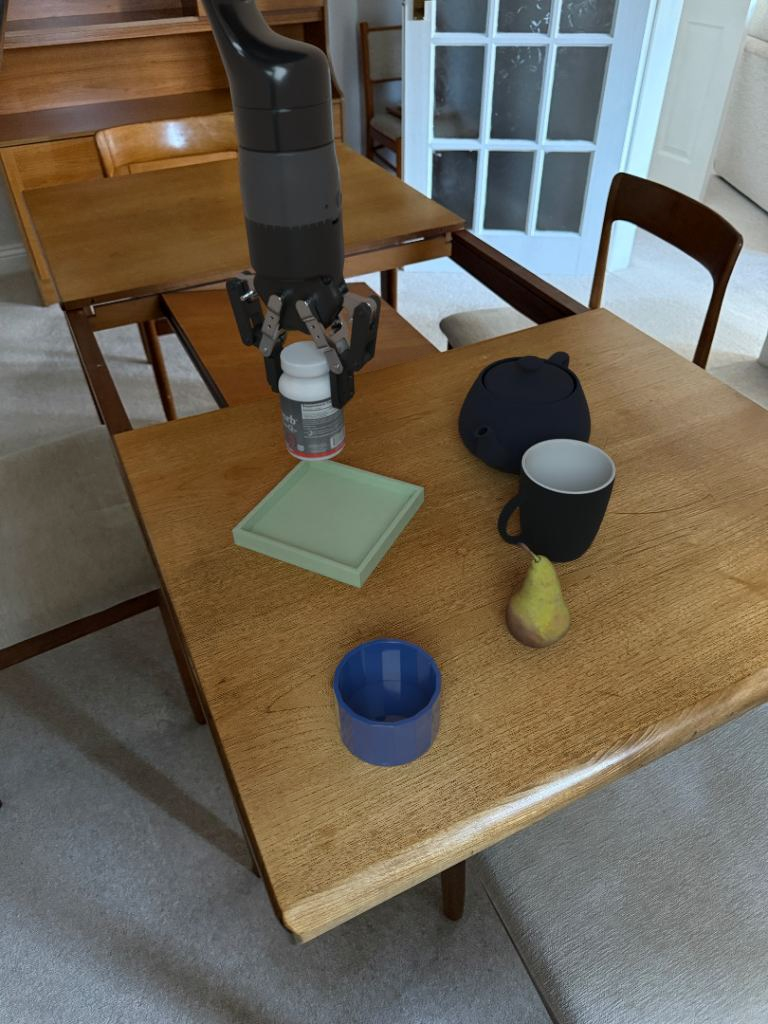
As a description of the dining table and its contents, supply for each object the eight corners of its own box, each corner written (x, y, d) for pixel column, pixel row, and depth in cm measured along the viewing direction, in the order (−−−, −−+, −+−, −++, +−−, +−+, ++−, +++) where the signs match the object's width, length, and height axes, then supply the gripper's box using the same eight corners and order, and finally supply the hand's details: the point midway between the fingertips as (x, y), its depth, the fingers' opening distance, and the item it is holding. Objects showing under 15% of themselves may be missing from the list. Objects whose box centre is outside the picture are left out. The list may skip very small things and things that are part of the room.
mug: (563, 505, 82) (576, 429, 76) (617, 554, 76) (636, 475, 70) (471, 540, 78) (476, 462, 72) (520, 594, 72) (531, 514, 66)
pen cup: (412, 783, 57) (412, 743, 54) (319, 741, 60) (313, 700, 57) (455, 701, 63) (457, 660, 59) (367, 666, 66) (365, 625, 62)
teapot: (503, 390, 102) (511, 306, 94) (614, 422, 95) (632, 334, 87) (410, 487, 86) (410, 395, 78) (536, 532, 79) (549, 437, 71)
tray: (360, 588, 73) (359, 574, 72) (234, 544, 79) (231, 530, 77) (424, 501, 84) (424, 487, 82) (309, 467, 89) (307, 453, 88)
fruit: (553, 670, 65) (572, 572, 57) (493, 644, 67) (503, 547, 60) (575, 628, 69) (596, 531, 61) (518, 605, 71) (530, 509, 63)
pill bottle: (280, 436, 72) (267, 343, 66) (336, 425, 74) (329, 332, 67) (294, 469, 68) (282, 373, 62) (353, 456, 69) (347, 361, 63)
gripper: (186, 207, 57) (222, 399, 67) (351, 233, 51) (361, 436, 62) (243, 181, 62) (268, 363, 72) (398, 202, 56) (400, 394, 67)
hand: (311, 396), depth 67 cm, fingers closed on pill bottle, 5 cm apart
